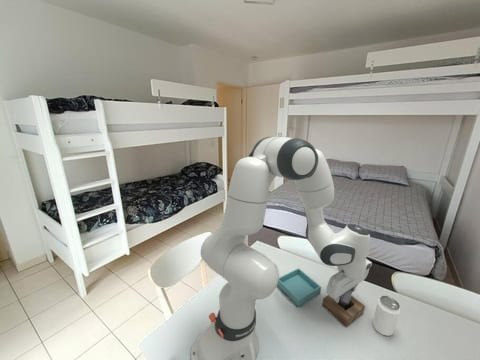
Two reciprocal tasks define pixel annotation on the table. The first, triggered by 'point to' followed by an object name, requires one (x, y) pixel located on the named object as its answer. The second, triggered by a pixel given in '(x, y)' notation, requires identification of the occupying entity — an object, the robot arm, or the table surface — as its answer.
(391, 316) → the can
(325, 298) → the pin block
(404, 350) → the table surface
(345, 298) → the pin
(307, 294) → the tray
